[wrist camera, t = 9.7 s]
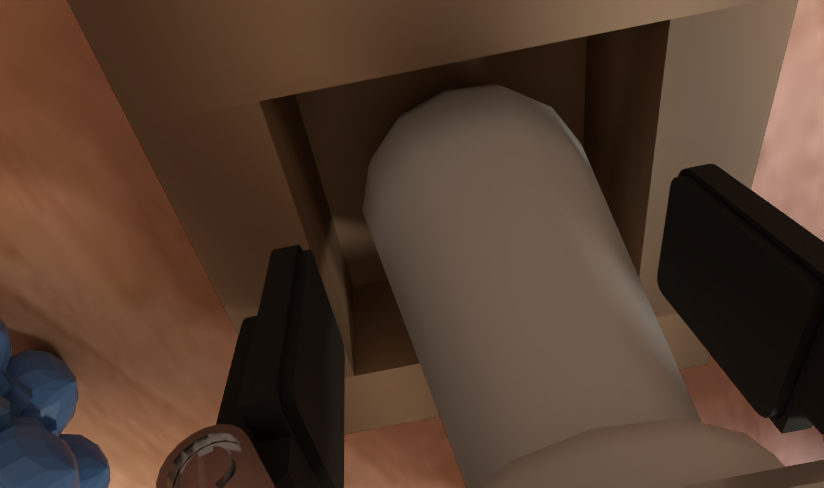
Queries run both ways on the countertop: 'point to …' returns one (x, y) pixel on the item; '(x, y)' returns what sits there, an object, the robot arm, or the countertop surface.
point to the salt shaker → (532, 305)
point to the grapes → (42, 424)
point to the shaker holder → (398, 93)
